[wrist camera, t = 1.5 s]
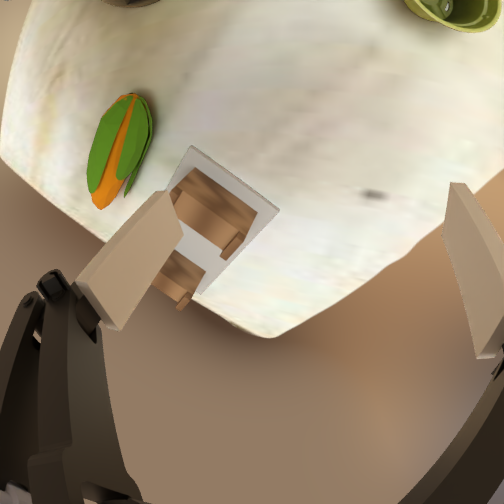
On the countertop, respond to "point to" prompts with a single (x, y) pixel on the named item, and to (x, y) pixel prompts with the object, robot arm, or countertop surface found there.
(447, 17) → the plant pot
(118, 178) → the corn
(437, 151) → the countertop surface
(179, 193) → the wooden brackets on board
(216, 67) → the countertop surface
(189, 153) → the mat
